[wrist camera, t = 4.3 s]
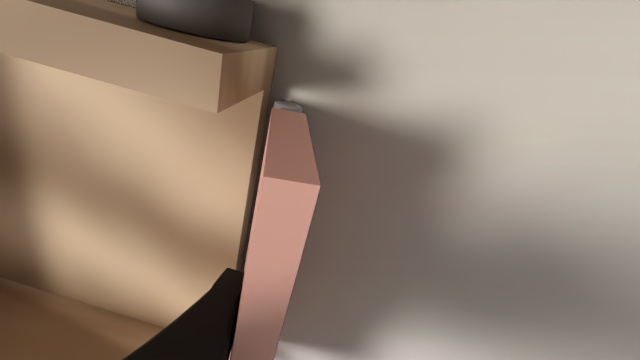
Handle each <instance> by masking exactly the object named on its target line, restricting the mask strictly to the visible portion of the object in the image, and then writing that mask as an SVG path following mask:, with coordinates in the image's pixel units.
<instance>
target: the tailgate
mask: <svg viewBox="0 0 640 360" xmlns="http://www.w3.org/2000/svg"><path fill="white" fill-rule="evenodd" d="M302 111H303V107H302V106H300V105H298V104H295V103H292V102H288V101H275V102H274V107H272V111H271V116H270V122H269V128H268V134H267V140H266V145H265V151H264V157H263V163H262V169H261V174H260V180H259V186H258V192H257V198H256V203H255V209H254V215H253V221H252V227H251V232H250V238H249V244H248V250H247V256H246V261H245V267H244V278H243V285H242V291H241V297H240V303H239V308H238V314H237V320H236V326H235V331H234V337H233V343H232V348H231V352H230V356H229V360H273V359H274V356H275V352H276V348H277V345H278V341H279V337H280V334H281V330H282V326H283V323H284V319H285V315H286V312H287V308H288V304H289V300H290V297H291V293H292V289H293V286H294V282H295V278H296V275H297V271H298V267H299V264H300V260H301V256H302V253H303V249H304V245H305V242H306V238H307V234H308V230H309V227H310V223H311V219H312V216H313V212H314V208H315V205H316V201H317V197H318V194H319V190H320V186H321V185H320V181H319V176H318V171H317V166H316V161H315V156H314V152H313V147H312V142H311V137H310V132H309V127H308V122H307V118H306V114H303V113H302Z"/></svg>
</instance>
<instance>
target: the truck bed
mask: <svg viewBox="0 0 640 360" xmlns="http://www.w3.org/2000/svg"><path fill="white" fill-rule="evenodd" d="M253 8H254V1H253V0H136V8H133V7H129V6H126V5H122V4H118V3H115V2H111V1H107V0H0V360H122V359H124V358H125V357H127V356H128V355H129V354H131V353H132V352H134V351H135V350H136V349H138V348H139V347H140V346H142V345H143V344H145V343H146V342H147V341H148V340H150V339H151V338H152V337H154V336H155V335H156V334H158V333H159V332H160V331H161V330H163V329H164V328H165V327H167V326H168V325H169V324H170V323H172V322H173V321H174V320H175V319H177V318H178V317H179V316H180V315H181V314H182V313H184V312H185V311H186V310H187V309H188V308H189V307H191V306H192V305H193V304H194V303H195V302H197V301H198V300H199V299H200V298H201V297H202V296H203V295H204V294H205V293H206V292H208V291H209V290H210V289H211V288H212V286H213V284H214V283H215V282H216V280H217V279H218V278H219V277H220V275H221V274H222V273H223V272H224V271H225V270H226V268H231V269H234V270H238V271H241V265H242V259H243V253H244V247H245V241H246V235H247V229H248V223H249V217H250V211H251V205H252V199H253V193H254V187H255V181H256V175H257V169H258V163H259V157H260V151H261V145H262V139H263V133H264V127H265V121H266V115H267V109H268V103H269V97H270V91H271V85H272V79H273V73H274V67H275V61H276V55H277V49H278V47H276V46H273V45H269V44H265V43H262V42H258V41H254V40H251V39H250V32H251V24H252V16H253Z"/></svg>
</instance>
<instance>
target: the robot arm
mask: <svg viewBox="0 0 640 360" xmlns="http://www.w3.org/2000/svg"><path fill="white" fill-rule="evenodd" d="M243 278H244V272H241V271H238V270H234V269H231V268H226V270H225V271H224V272H223V273H222V274H221V275H220V277H219V278H218V279H217V280H216V282H215V283H214V284H213V286H212V288H211V289H210V290H209V291H208V292H206V293H205V294H204V295H203V296H202V297H201V298H200V299H199V300H198V301H197V302H195V303H194V304H193V305H192V306H191V307H189V308H188V309H187V310H186V311H185V312H184V313H182V314H181V315H180V316H179V317H178V318H177V319H175V320H174V321H173V322H172V323H170V324H169V325H168V326H167V327H165V328H164V329H163V330H161V331H160V332H159V333H158V334H156V335H155V336H154V337H152V338H151V339H150V340H148V341H147V342H146V343H145V344H143V345H142V346H140V347H139V348H138V349H136V350H135V351H134V352H132V353H131V354H129V355H128V356H127V357H125V358H124V359H122V360H229V356H230V352H231V348H232V343H233V337H234V331H235V326H236V320H237V314H238V308H239V303H240V297H241V291H242V285H243Z"/></svg>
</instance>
